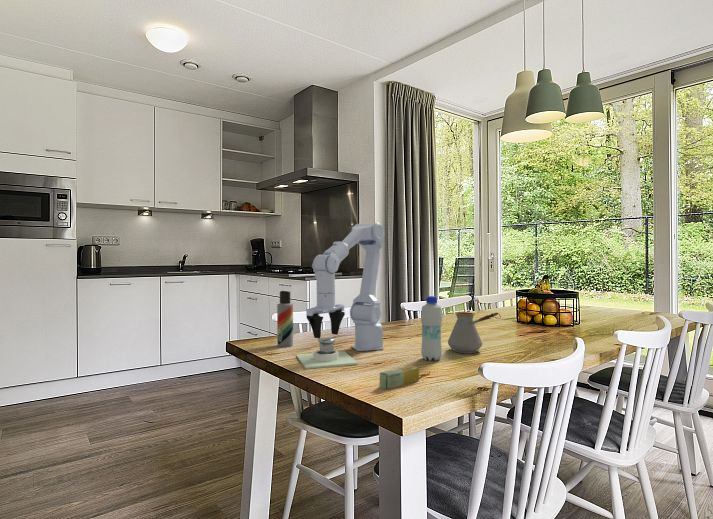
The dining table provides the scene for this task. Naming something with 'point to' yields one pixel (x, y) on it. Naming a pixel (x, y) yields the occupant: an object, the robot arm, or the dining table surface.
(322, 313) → the robot arm
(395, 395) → the dining table surface
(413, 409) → the dining table surface
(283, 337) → the lotion bottle
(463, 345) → the coffee pot
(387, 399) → the dining table surface
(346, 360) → the duct flange
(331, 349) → the silver canister
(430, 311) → the bottle
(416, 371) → the medication box
